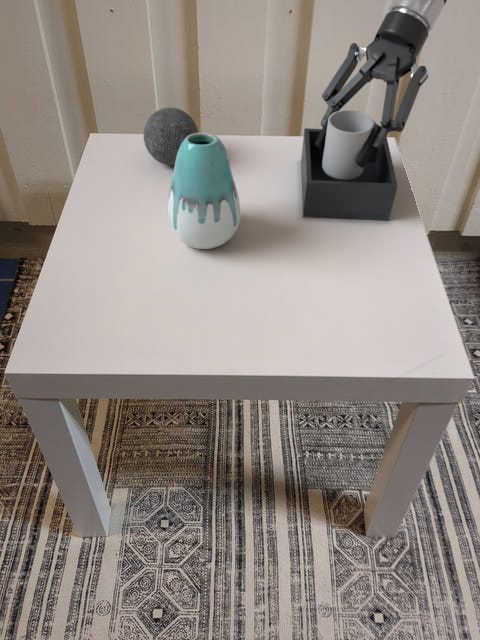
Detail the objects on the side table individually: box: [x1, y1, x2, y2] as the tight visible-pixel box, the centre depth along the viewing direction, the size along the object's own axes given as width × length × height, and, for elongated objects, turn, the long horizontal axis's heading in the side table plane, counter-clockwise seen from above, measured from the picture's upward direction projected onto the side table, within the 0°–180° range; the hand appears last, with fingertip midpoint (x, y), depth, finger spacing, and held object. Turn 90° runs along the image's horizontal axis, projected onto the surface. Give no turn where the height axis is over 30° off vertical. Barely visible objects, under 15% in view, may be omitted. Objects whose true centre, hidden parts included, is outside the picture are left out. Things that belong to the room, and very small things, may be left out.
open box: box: [300, 127, 398, 222], centre depth 99 cm, size 17×15×7 cm
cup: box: [322, 109, 378, 180], centre depth 94 cm, size 7×10×9 cm
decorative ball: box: [143, 107, 199, 166], centre depth 103 cm, size 10×10×10 cm
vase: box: [166, 132, 242, 250], centre depth 86 cm, size 12×12×18 cm
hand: (338, 155), depth 93 cm, fingers closed on cup, 7 cm apart
